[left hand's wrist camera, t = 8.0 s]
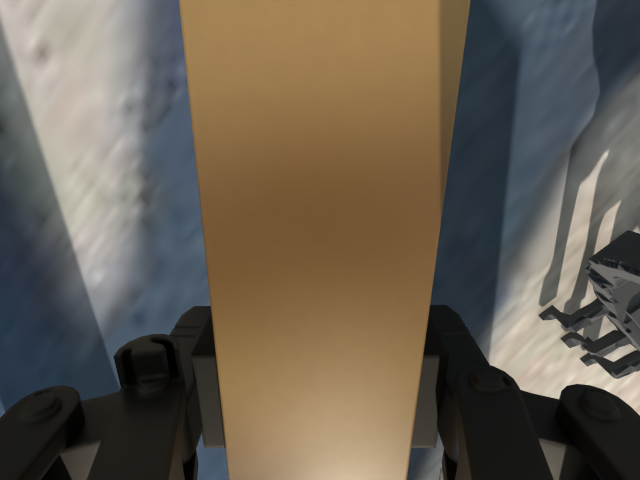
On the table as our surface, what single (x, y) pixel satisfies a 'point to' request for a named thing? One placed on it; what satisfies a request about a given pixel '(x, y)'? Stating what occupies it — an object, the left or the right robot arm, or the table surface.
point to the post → (321, 220)
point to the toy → (609, 306)
